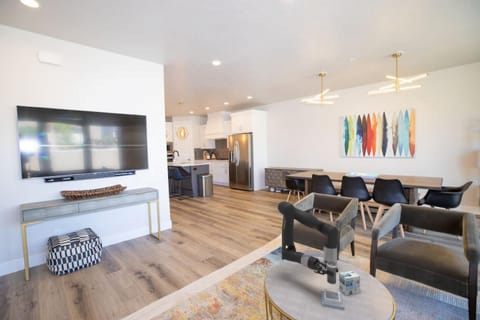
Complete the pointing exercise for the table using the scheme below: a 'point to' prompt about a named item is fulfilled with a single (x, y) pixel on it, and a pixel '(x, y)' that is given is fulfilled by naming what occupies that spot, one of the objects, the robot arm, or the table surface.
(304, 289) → the table surface
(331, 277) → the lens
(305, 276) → the table surface
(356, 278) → the light bulb box
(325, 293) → the blue square socket base
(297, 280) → the table surface
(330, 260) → the robot arm
